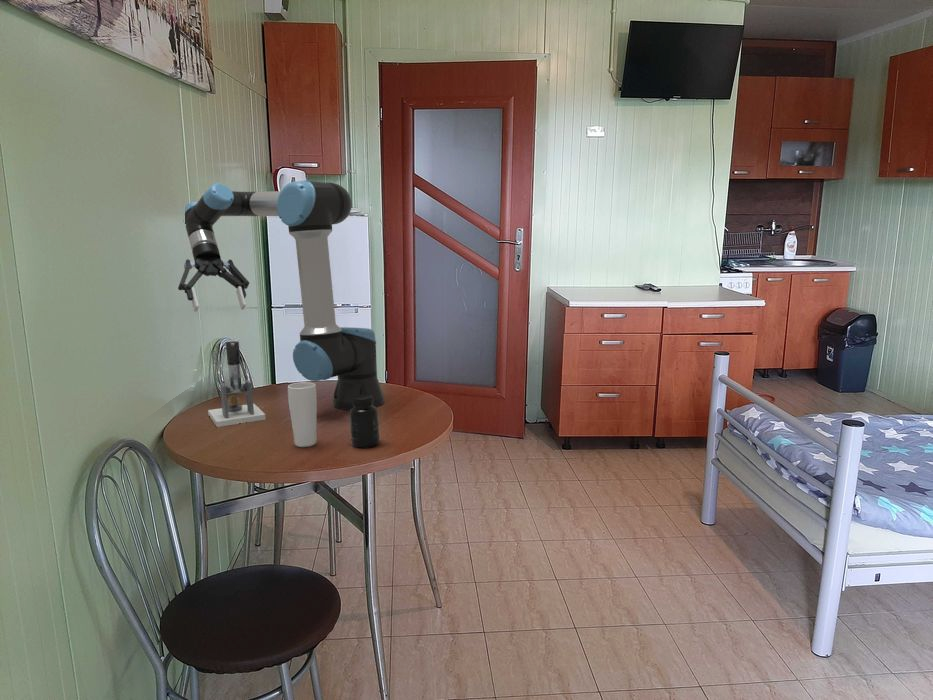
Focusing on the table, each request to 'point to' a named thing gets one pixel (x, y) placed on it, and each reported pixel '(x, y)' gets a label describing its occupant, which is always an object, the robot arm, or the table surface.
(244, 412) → the nutcracker base
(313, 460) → the table surface
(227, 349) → the lever
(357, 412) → the supplement bottle
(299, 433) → the drinking glass
